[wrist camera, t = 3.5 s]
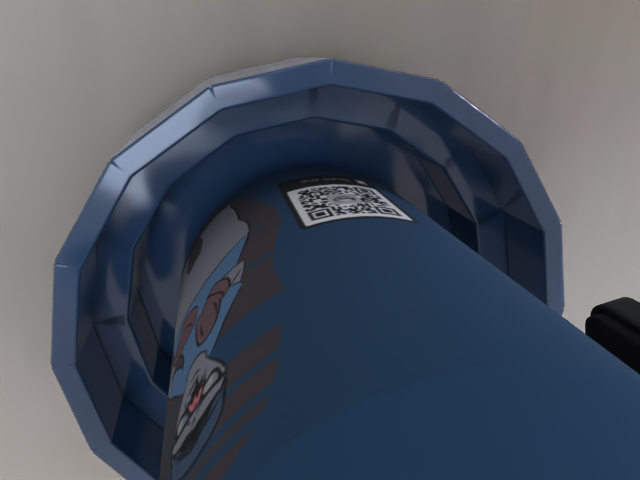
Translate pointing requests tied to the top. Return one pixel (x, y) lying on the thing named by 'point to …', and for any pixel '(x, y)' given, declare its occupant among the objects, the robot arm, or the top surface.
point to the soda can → (377, 352)
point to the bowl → (245, 168)
